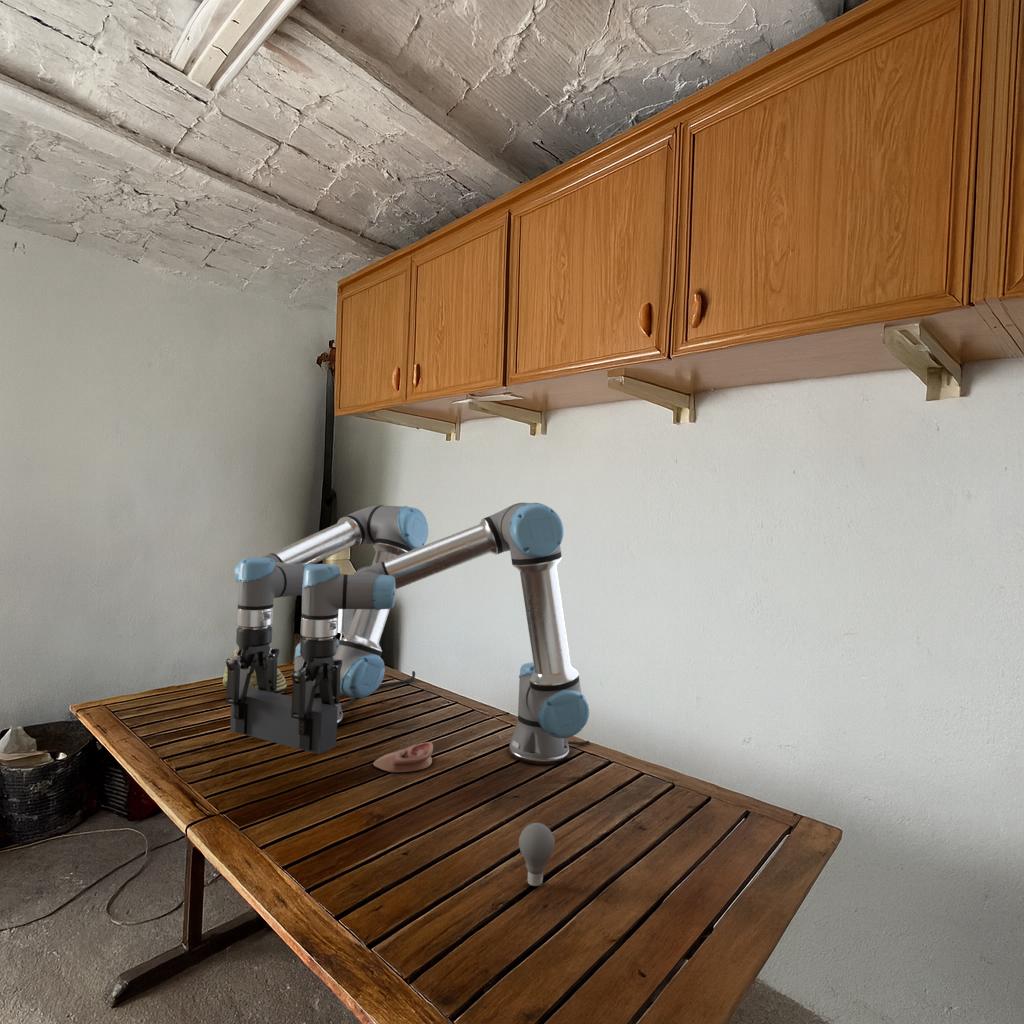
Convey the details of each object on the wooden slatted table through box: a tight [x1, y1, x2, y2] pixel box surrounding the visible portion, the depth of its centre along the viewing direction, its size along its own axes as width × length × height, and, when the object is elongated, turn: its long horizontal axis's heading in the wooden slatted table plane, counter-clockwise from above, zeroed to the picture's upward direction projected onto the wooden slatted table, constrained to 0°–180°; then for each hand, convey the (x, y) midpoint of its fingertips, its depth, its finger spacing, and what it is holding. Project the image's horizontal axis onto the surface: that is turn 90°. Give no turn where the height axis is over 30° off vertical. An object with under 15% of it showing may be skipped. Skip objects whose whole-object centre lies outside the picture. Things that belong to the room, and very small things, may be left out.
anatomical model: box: [372, 741, 434, 773], centre depth 152 cm, size 13×4×12 cm
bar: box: [229, 687, 338, 755], centre depth 140 cm, size 26×5×9 cm, turn 66°
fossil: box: [222, 646, 288, 694], centre depth 198 cm, size 9×18×15 cm, turn 132°
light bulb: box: [518, 822, 556, 887], centre depth 106 cm, size 6×6×10 cm
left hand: (251, 728), depth 144 cm, fingers closed on bar, 5 cm apart
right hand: (315, 744), depth 136 cm, fingers closed on bar, 5 cm apart
